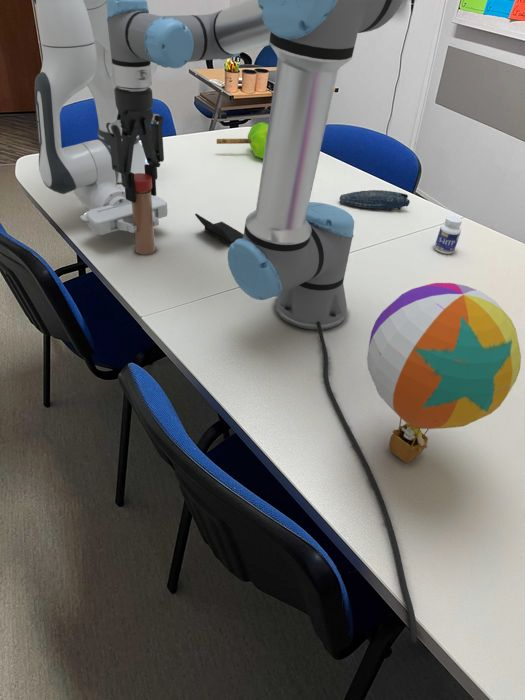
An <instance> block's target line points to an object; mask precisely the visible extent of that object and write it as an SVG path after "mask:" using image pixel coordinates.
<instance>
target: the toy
mask: <svg viewBox="0 0 525 700" xmlns="http://www.w3.org/2000/svg"><path fill="white" fill-rule="evenodd" d="M367 347H368V348H367V354H366V355H367V356H366V362H367V370H368V372H369V375H370V377H371V379H372V380H371V381H372V382H373V385H374V387H375V389H376V391H377V394H378V395H379V397H381V399H382V401H384V402H385V403H386V405H387V406H388V407H389V408H390V409H391V410H392V411H393V412H394V413H395V414H396V415H397V416H398V417H399V418H400V419H399V425H398V428H397V429H393V430H392V434H391V436H390V440H389V444H388V449H389V451H390V453H392V454H394V455H395V456H396V457H397V458H399V460H401V461H402V462H404V463H405V464H409V463H410V462H412V461H413V460H414V459H415V458H417V457H418V456H419V455H420V454H421V453H423V451H424V449H427V447H428V440H429V438H428V437H427V436H426V434H427V433H428V431H429V430H437V429H453V428H461V427H466V426H467V425H469V424H472V423H475V422H477V421H478V420H481V419H483V418H485V417H487V416H489V415H492V413H494V412H495V411H496V410H497V409H498V408H500V407H501V405H502V404H503V402H504V401H505V399H506V398H507V396H508V395H509V394H510V391H512V388H513V387H514V385H515V383H516V382H517V379H518V376H519V373H520V371H521V362H522V354H521V349H520V343H519V338H518V333H517V329H516V327H515V324H514V323H513V321H512V319H511V317H510V316H509V315H508V314H507V312H506V311H505V310H504V309H503V307H502V306H500V304H499V303H498V302H497V301H496V300H495V299H493V298H491V297H490V296H489V295H487V294H485V293H484V292H483V291H481V290H478V289H475V288H473V287H470V286H467V285H464V284H458V283H453V282H434V283H429V284H424V285H421V286H418V287H414V288H411V289H409V290H407V291H405V292H403V293H402V294H401V295H399V296H398V297H397V298H396V299H394V301H393V302H392V303H390V304H389V305H388V306H387V307H386V308H385V309H383V310H382V311H381V313H380V314H379V315H378V317H377V319H376V320H375V321H374V324H373V327H372V330H371V332H370V338H369V342H368V346H367ZM402 420H403V421H404V422H405V423H404V424H403V425H402ZM421 429H422V430H426V431H425V432H424V433H423V432H422V430H421Z"/></svg>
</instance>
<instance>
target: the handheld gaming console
mask: <svg viewBox="0 0 525 700" xmlns="http://www.w3.org/2000/svg"><path fill="white" fill-rule="evenodd" d="M194 215H195V217H196V218H197V220H199V222H200V223H201V225H202V226H203V227H204V231H206V232H207V233H209V234H211V235H212V236H214V237H216V238H218V239H219V240H221V241H222V242H223V243H225V244H226V245H228V246H230V245H231V244H232V243H234V242H235V241H236V240H237V239H242V238H243V236H244V233H242V232H241V231H239V230H237V229H235V228H234V227H232V226H231V225H229V224H227V223H225V222H224V221H218V222H215V223H213V222H211V221H209V220H208V219H206V218H205V217H203V216H201V215H200V214H197V213H195V214H194Z"/></svg>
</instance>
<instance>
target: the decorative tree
mask: <svg viewBox="0 0 525 700" xmlns="http://www.w3.org/2000/svg"><path fill="white" fill-rule="evenodd" d="M268 124H269V123H266V122H264V121H263V122H262V121H261V122H258V123H256V124H253V125H252V126H251V127H250V129H249V132H248V134H247V138H216V144H217V145H229V144H230V145H232V144H233V145H234V144H239V145H241V144H243V145H244V144H249V146H250V148H251V150H252V152H253V154H254V156H255V157H257V158H260V159H262V160H263V159H264V152H265V145H266V138H267V131H268Z"/></svg>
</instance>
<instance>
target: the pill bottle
mask: <svg viewBox="0 0 525 700" xmlns="http://www.w3.org/2000/svg"><path fill="white" fill-rule="evenodd" d="M462 222H463V219H461V218H460V217H458V216H455V215H448V216H446V218H445V220H444V223H443V224H442V225H440V228H439V231H438V234H437V237H436V240H435V243H434V250H435V251H437V252H439V253H441V254H447V255H449V254H453V253H454V252H455V250H456V247H457V244H458V242H459V239H460V236H461V233H462V229H461V225H462Z"/></svg>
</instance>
